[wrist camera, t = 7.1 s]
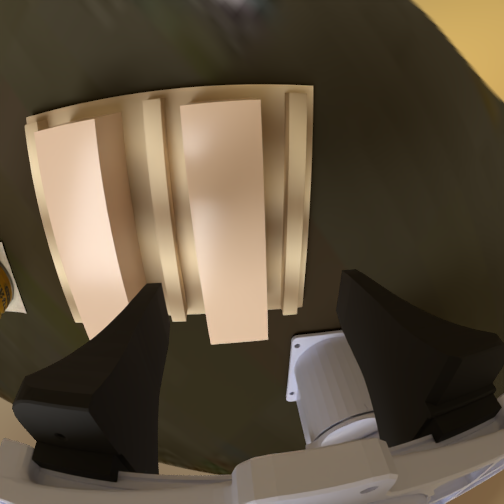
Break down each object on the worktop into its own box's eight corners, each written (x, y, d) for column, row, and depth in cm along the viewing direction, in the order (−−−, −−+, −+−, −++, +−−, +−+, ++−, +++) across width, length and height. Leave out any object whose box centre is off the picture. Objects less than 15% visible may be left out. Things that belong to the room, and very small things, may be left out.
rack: (299, 300, 25) (306, 318, 23) (78, 310, 24) (69, 327, 22) (309, 86, 18) (320, 85, 16) (32, 116, 16) (15, 120, 15)
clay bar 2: (259, 297, 24) (268, 339, 20) (211, 302, 24) (211, 344, 20) (251, 97, 17) (260, 99, 13) (189, 102, 17) (179, 105, 13)
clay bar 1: (151, 305, 23) (141, 346, 19) (108, 306, 23) (92, 346, 19) (121, 111, 17) (94, 118, 13) (69, 121, 16) (34, 132, 13)
